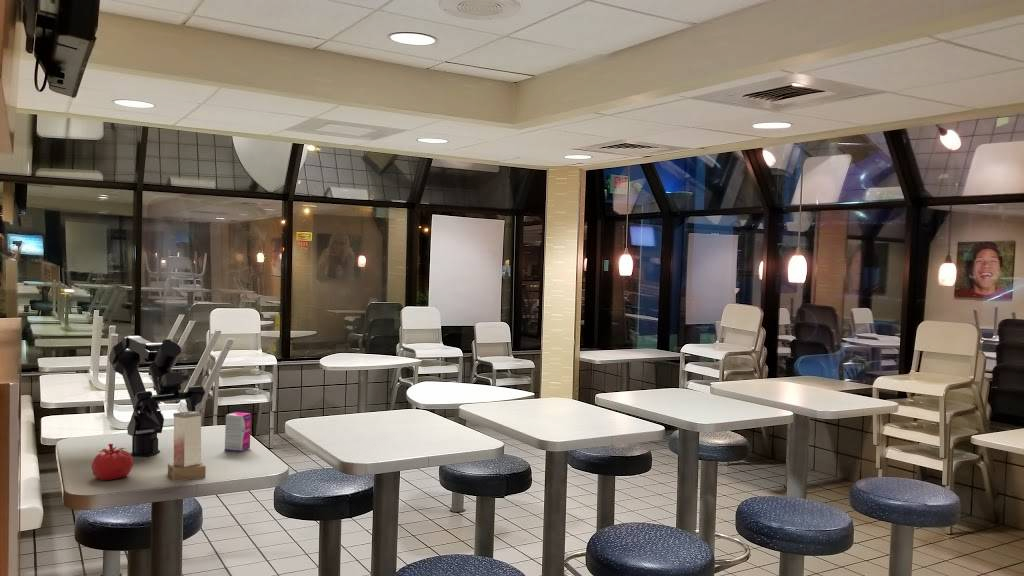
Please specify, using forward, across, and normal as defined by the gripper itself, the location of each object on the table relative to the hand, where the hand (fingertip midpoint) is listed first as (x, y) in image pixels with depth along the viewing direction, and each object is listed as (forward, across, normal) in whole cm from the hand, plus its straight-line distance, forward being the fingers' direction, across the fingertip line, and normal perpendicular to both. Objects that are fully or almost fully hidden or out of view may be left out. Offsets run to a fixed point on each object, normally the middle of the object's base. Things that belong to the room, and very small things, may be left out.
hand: (177, 422), depth 220 cm
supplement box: (+1, +23, +20) cm, 30 cm away
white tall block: (+13, 0, +1) cm, 13 cm away
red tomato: (+8, -16, +11) cm, 21 cm away
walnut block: (+16, 0, +4) cm, 16 cm away
